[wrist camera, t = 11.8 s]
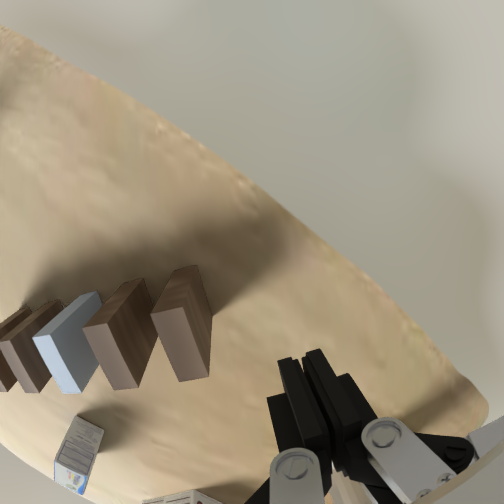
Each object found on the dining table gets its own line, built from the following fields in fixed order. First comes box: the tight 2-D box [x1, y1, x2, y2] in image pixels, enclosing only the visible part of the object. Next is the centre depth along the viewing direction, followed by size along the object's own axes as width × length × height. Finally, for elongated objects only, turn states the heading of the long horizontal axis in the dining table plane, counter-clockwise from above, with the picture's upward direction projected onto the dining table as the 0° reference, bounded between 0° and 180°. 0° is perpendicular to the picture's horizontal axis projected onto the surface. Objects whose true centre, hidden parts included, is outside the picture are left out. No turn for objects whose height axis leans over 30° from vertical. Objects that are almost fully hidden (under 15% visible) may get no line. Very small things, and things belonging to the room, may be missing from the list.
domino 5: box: [150, 265, 212, 382], centre depth 20 cm, size 2×5×9 cm, turn 13°
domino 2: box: [0, 300, 63, 393], centre depth 20 cm, size 2×5×9 cm, turn 13°
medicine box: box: [54, 416, 104, 495], centre depth 23 cm, size 8×4×9 cm, turn 151°
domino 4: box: [82, 278, 158, 390], centre depth 20 cm, size 2×5×9 cm, turn 13°
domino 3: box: [32, 291, 103, 394], centre depth 20 cm, size 2×5×9 cm, turn 13°
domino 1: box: [0, 307, 32, 392], centre depth 19 cm, size 2×5×9 cm, turn 13°
